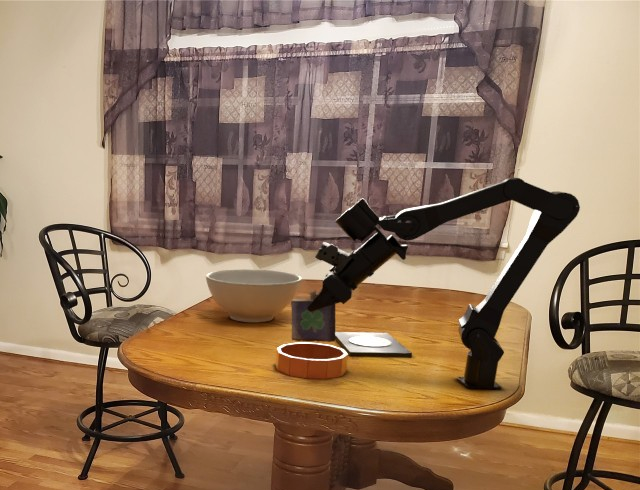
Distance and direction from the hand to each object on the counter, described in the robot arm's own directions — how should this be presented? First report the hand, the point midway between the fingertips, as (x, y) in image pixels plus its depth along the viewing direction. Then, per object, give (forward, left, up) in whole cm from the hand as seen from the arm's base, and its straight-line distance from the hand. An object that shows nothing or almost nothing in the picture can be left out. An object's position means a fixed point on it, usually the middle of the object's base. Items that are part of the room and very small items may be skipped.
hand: (309, 308), depth 146 cm
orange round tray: (0, -1, -13) cm, 13 cm away
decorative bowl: (+51, +7, -13) cm, 53 cm away
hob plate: (+21, -19, -13) cm, 31 cm away
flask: (0, -1, -7) cm, 7 cm away
